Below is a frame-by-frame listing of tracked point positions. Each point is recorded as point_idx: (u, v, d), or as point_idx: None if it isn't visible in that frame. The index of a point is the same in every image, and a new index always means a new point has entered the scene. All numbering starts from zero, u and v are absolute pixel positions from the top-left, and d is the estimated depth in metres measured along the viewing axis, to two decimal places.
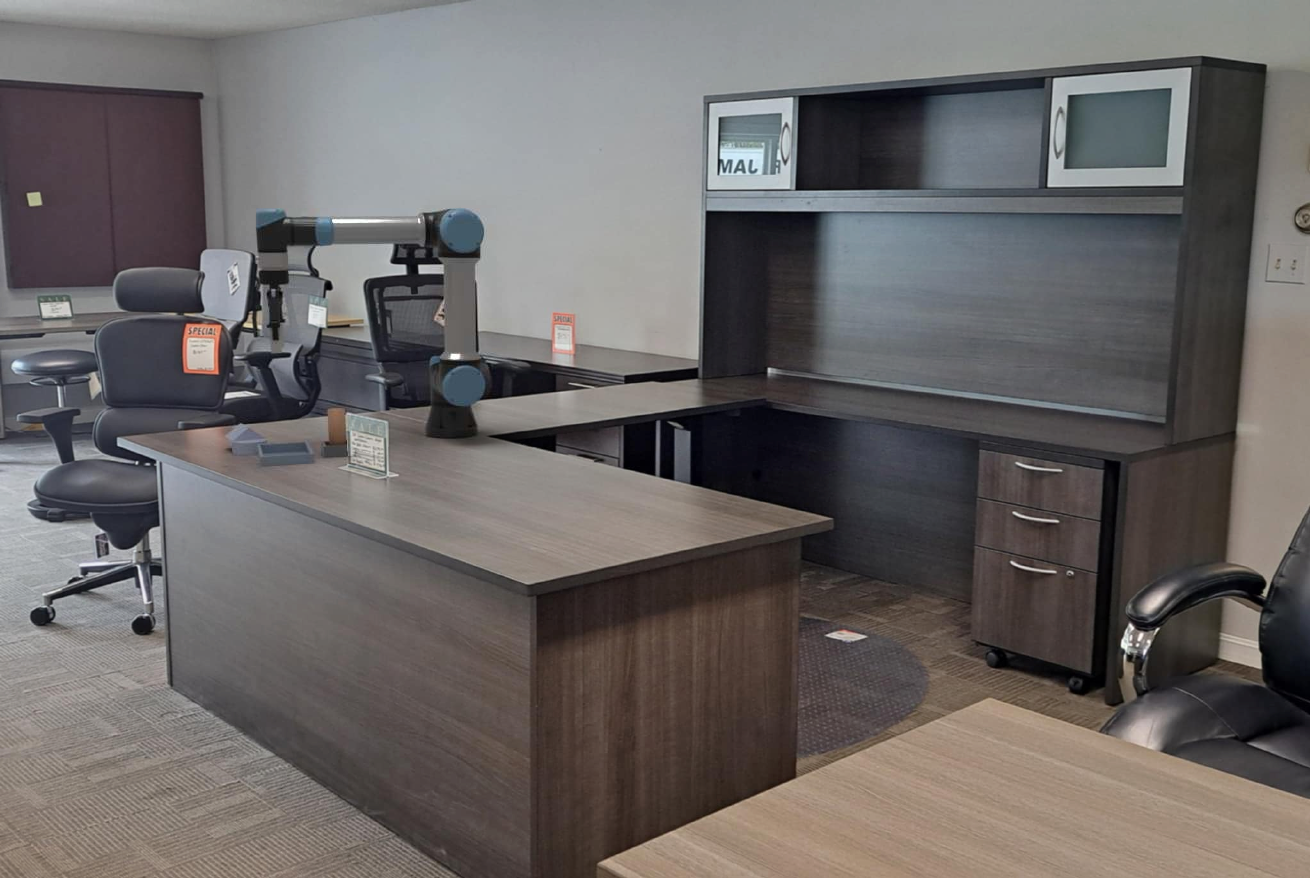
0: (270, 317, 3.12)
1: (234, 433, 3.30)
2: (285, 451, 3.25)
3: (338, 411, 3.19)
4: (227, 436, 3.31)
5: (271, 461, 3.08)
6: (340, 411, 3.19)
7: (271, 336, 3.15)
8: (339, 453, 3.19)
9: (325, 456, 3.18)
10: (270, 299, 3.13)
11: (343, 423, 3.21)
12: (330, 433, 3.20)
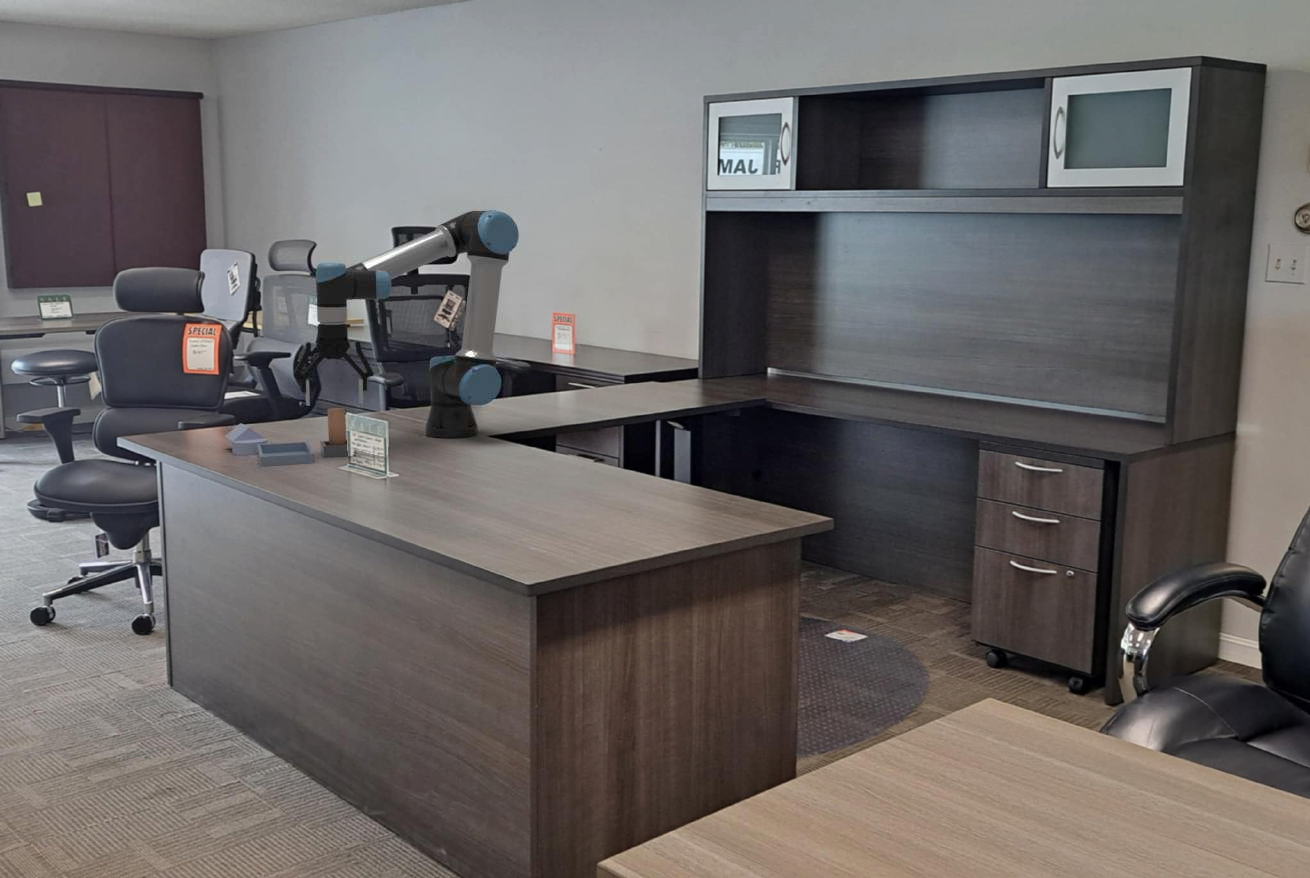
0: (296, 369, 3.16)
1: (234, 433, 3.30)
2: (285, 451, 3.25)
3: (338, 411, 3.19)
4: (227, 436, 3.31)
5: (271, 461, 3.08)
6: (340, 411, 3.19)
7: None
8: (339, 453, 3.19)
9: (325, 456, 3.18)
10: (304, 351, 3.16)
11: (343, 423, 3.21)
12: (330, 433, 3.20)
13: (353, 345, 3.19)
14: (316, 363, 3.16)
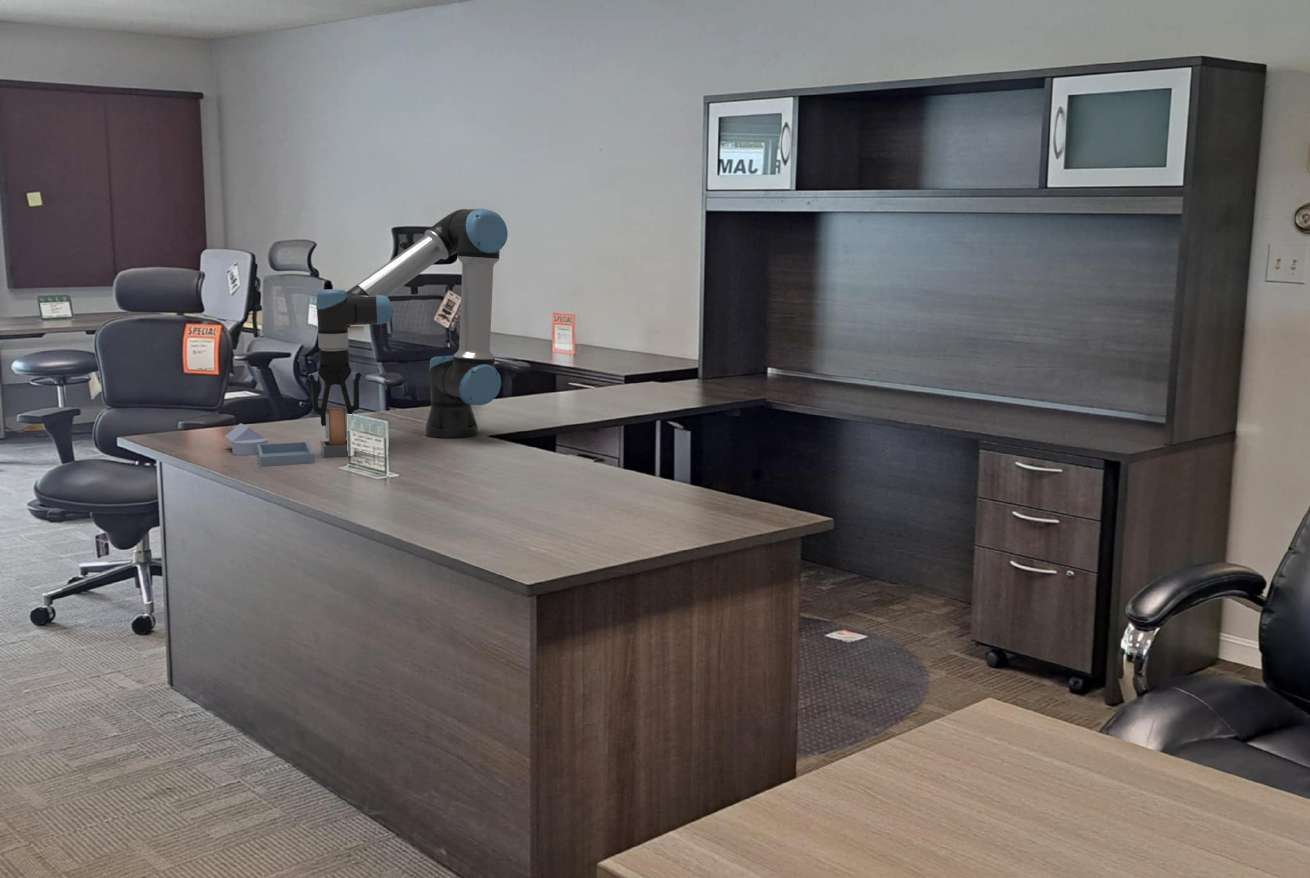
0: None
1: (234, 433, 3.30)
2: (285, 451, 3.25)
3: (338, 411, 3.19)
4: (227, 436, 3.31)
5: (271, 461, 3.08)
6: (340, 411, 3.19)
7: None
8: (339, 453, 3.19)
9: (325, 456, 3.18)
10: (311, 384, 3.18)
11: (343, 423, 3.21)
12: (330, 432, 3.20)
13: (353, 374, 3.20)
14: (327, 393, 3.18)
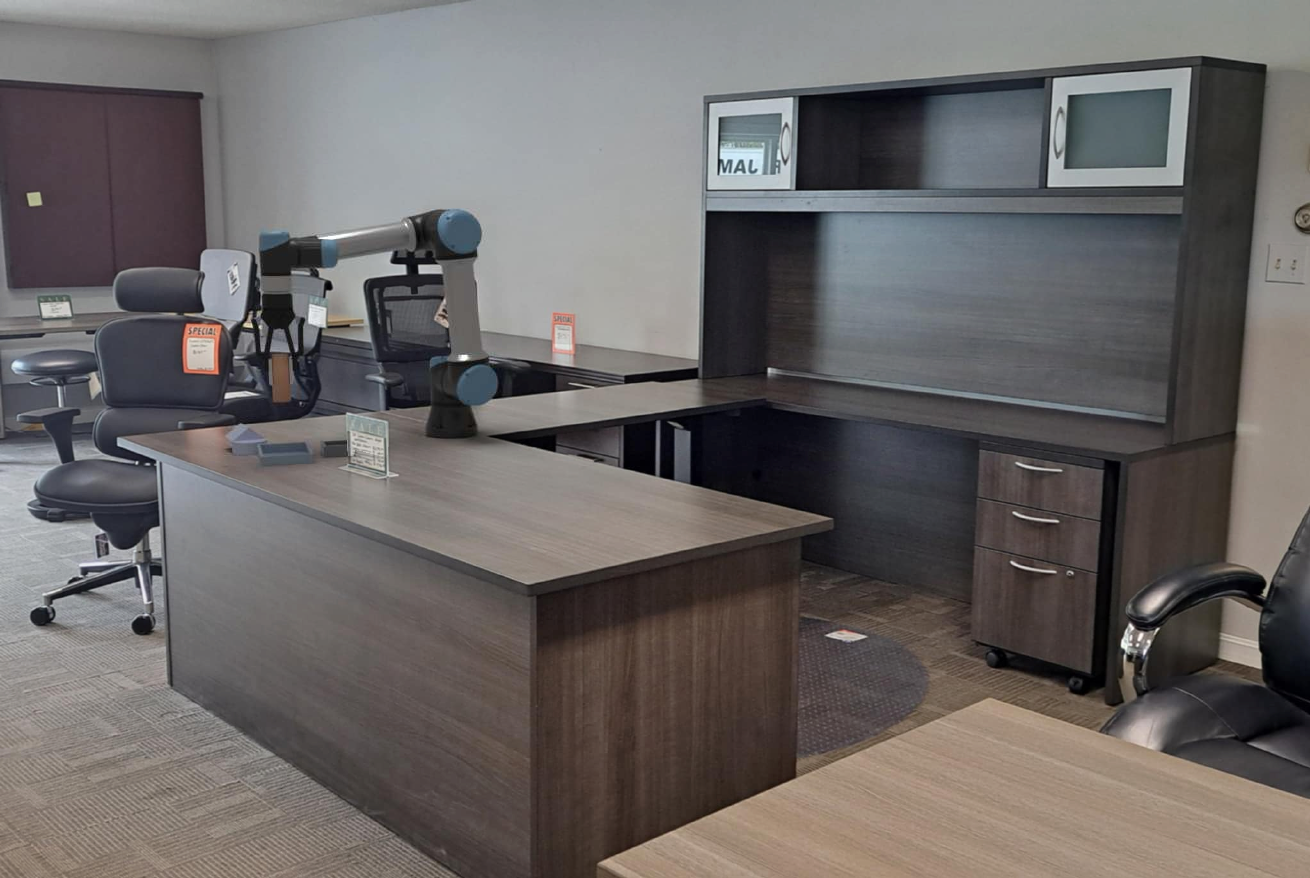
0: (255, 348, 3.11)
1: (234, 433, 3.30)
2: (285, 451, 3.25)
3: (281, 356, 3.11)
4: (227, 436, 3.31)
5: (271, 461, 3.08)
6: (283, 356, 3.11)
7: None
8: (339, 453, 3.19)
9: (325, 456, 3.18)
10: None
11: (287, 369, 3.12)
12: (273, 378, 3.12)
13: (298, 319, 3.12)
14: (270, 337, 3.10)
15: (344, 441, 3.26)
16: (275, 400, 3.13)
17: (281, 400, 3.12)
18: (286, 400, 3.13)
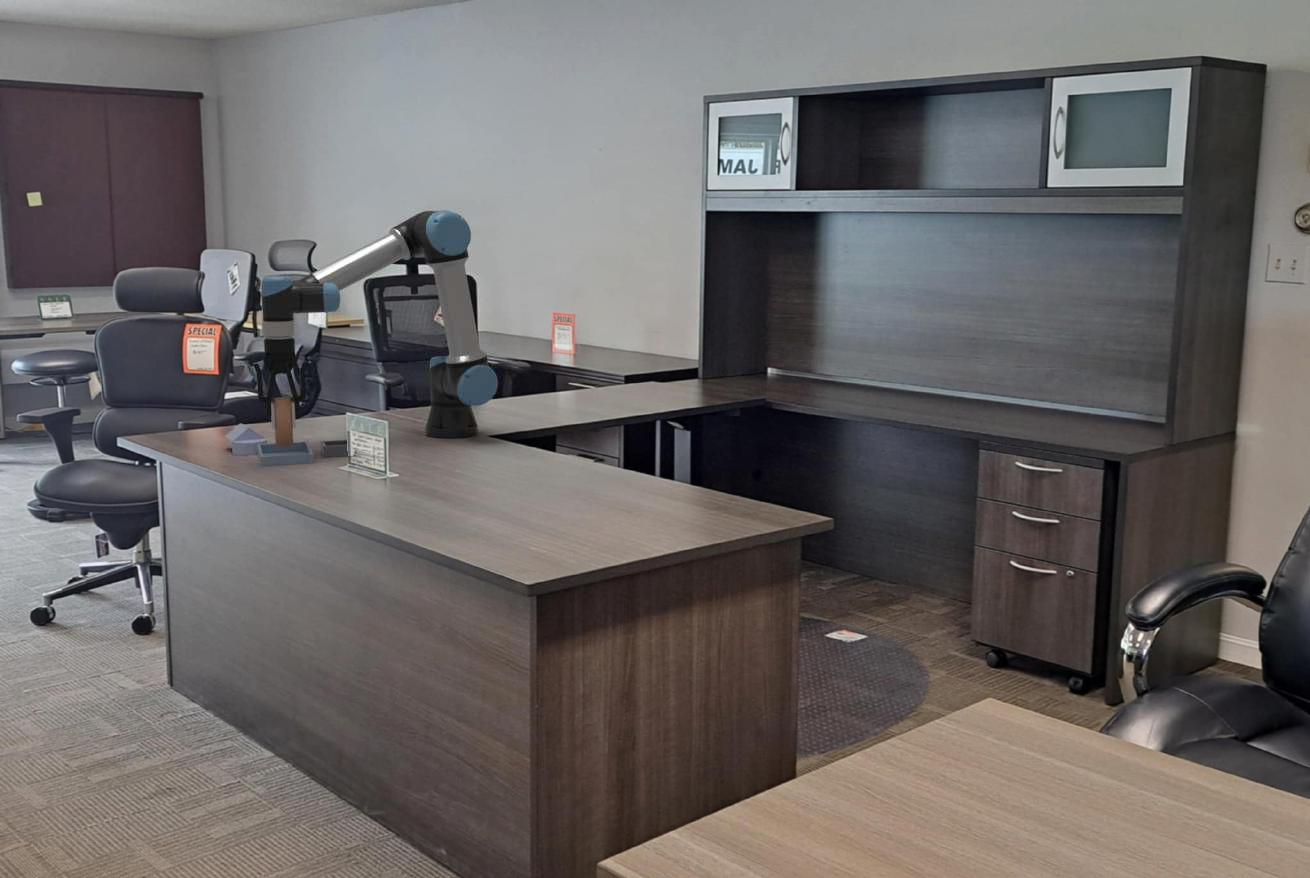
0: None
1: (234, 433, 3.30)
2: (285, 451, 3.25)
3: (284, 400, 3.13)
4: (227, 436, 3.31)
5: (271, 461, 3.08)
6: (286, 400, 3.13)
7: None
8: (339, 453, 3.19)
9: (325, 456, 3.18)
10: (256, 373, 3.12)
11: (289, 413, 3.14)
12: (276, 423, 3.14)
13: (300, 363, 3.14)
14: (272, 382, 3.12)
15: (344, 441, 3.26)
16: (278, 444, 3.15)
17: (283, 444, 3.15)
18: (288, 444, 3.15)
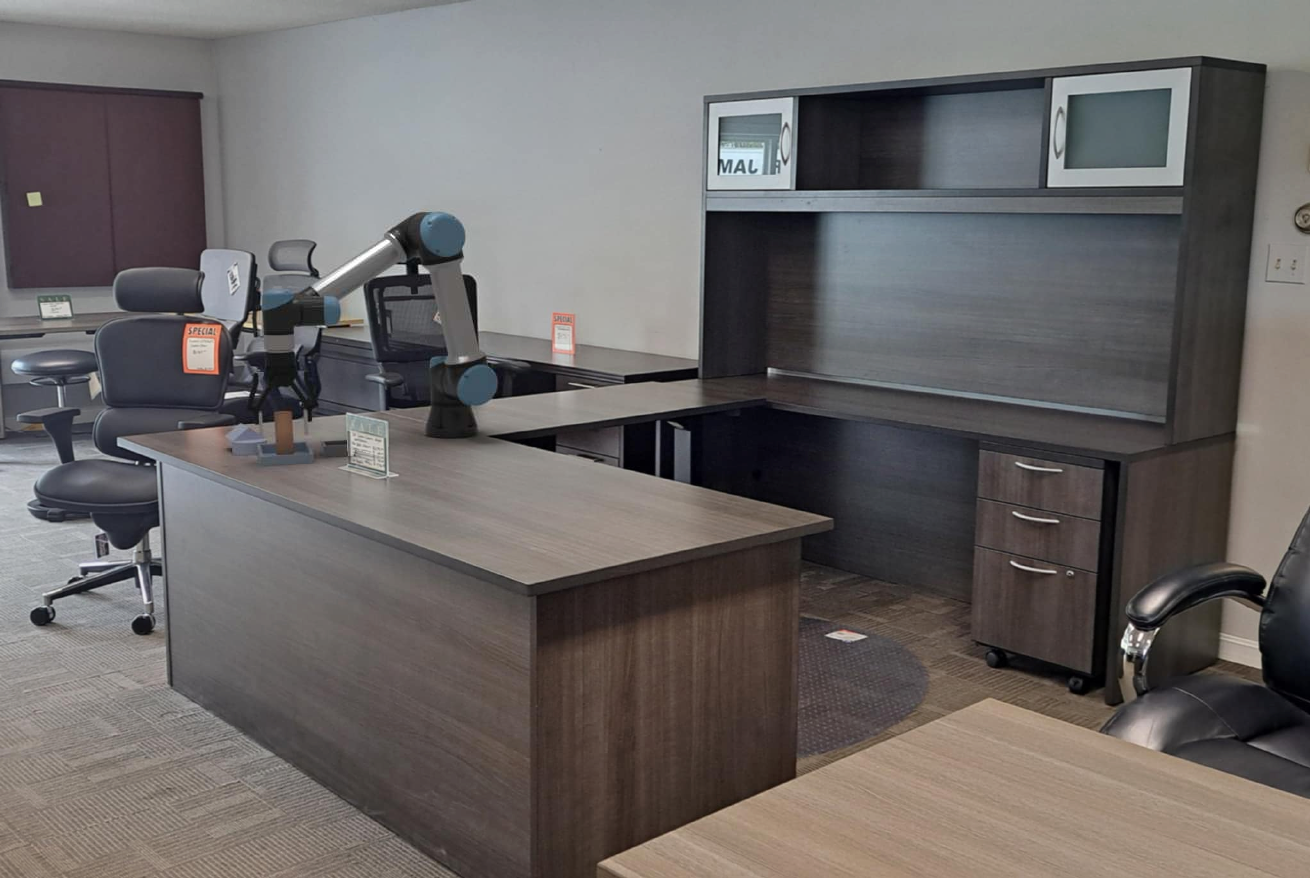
0: (247, 401, 3.13)
1: (234, 433, 3.30)
2: None
3: (285, 414, 3.13)
4: (227, 436, 3.31)
5: (271, 461, 3.08)
6: (287, 414, 3.14)
7: None
8: (339, 453, 3.19)
9: (325, 456, 3.18)
10: (253, 382, 3.12)
11: (290, 426, 3.15)
12: (277, 436, 3.15)
13: (301, 374, 3.15)
14: (266, 393, 3.12)
15: (344, 441, 3.26)
16: None
17: None
18: None
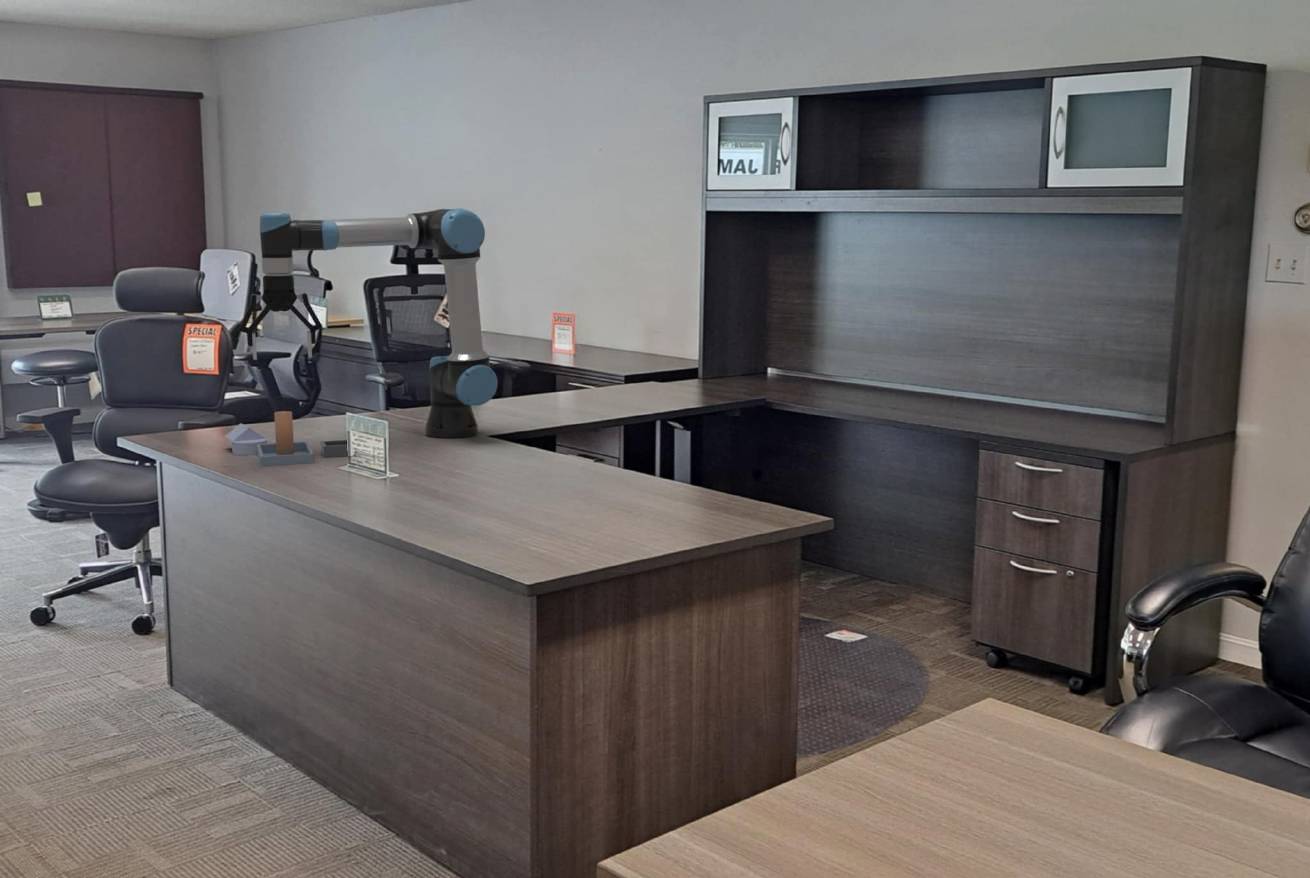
0: None
1: (234, 433, 3.30)
2: None
3: (285, 414, 3.13)
4: (227, 436, 3.31)
5: (271, 461, 3.08)
6: (287, 414, 3.14)
7: None
8: (339, 453, 3.19)
9: (325, 456, 3.18)
10: None
11: (290, 426, 3.15)
12: (277, 436, 3.15)
13: (300, 297, 3.12)
14: (262, 316, 3.09)
15: (344, 441, 3.26)
16: None
17: None
18: None
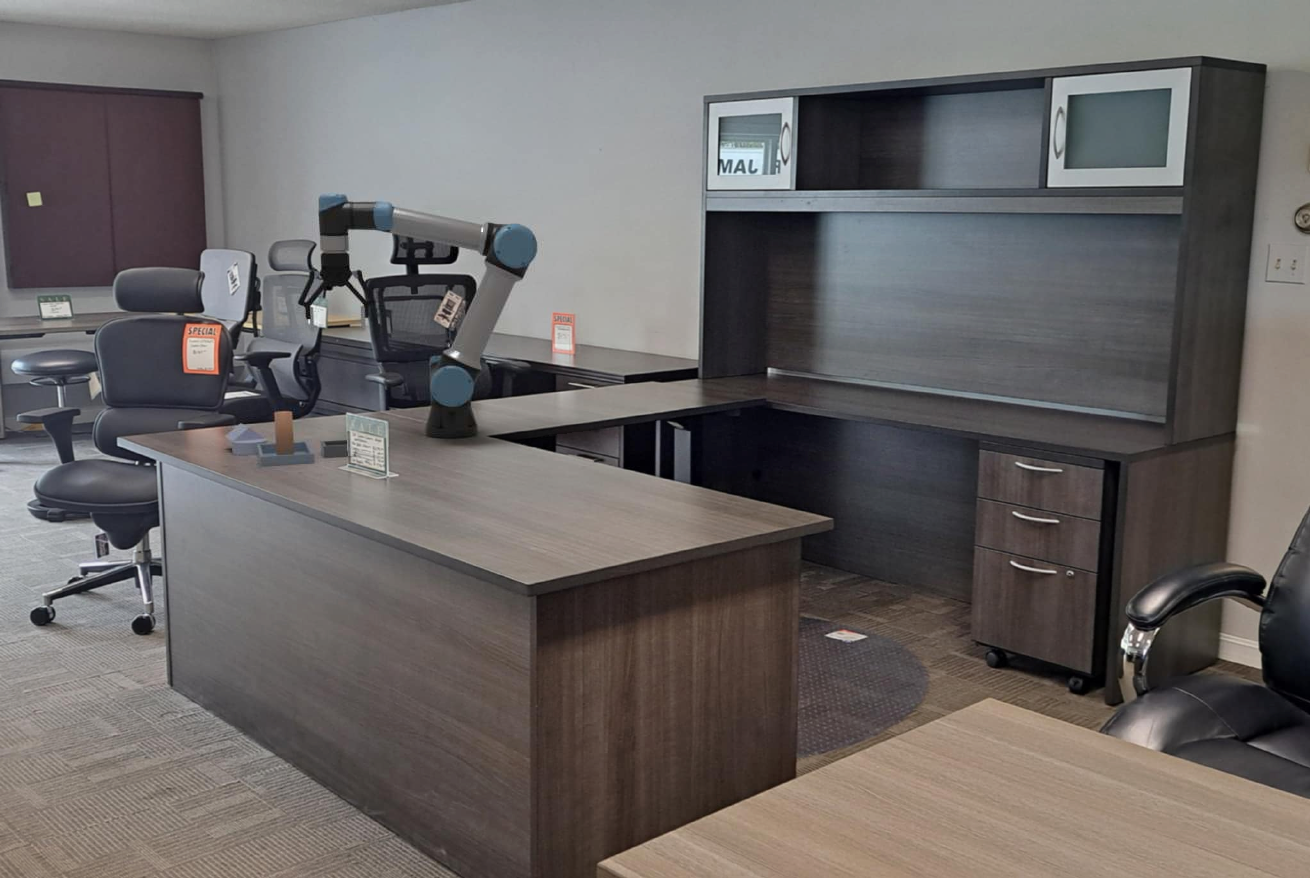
0: (300, 296, 3.29)
1: (234, 433, 3.30)
2: None
3: (285, 414, 3.13)
4: (227, 436, 3.31)
5: (271, 461, 3.08)
6: (287, 414, 3.14)
7: None
8: (339, 453, 3.19)
9: (325, 456, 3.18)
10: (308, 280, 3.29)
11: (290, 426, 3.15)
12: (277, 436, 3.15)
13: (355, 273, 3.32)
14: (320, 291, 3.29)
15: (344, 441, 3.26)
16: None
17: None
18: None
